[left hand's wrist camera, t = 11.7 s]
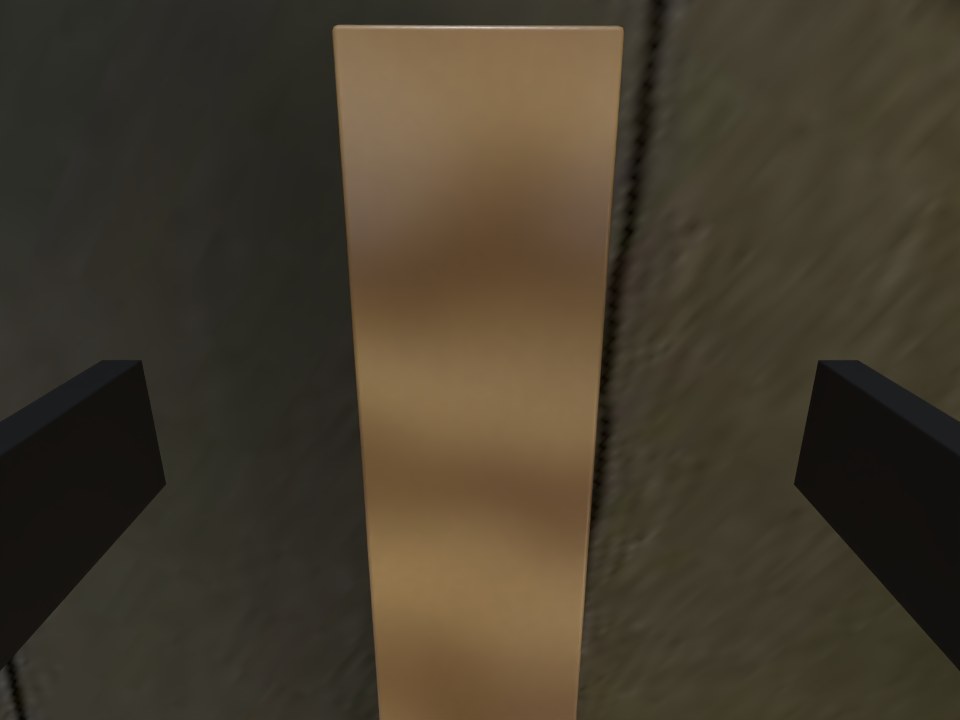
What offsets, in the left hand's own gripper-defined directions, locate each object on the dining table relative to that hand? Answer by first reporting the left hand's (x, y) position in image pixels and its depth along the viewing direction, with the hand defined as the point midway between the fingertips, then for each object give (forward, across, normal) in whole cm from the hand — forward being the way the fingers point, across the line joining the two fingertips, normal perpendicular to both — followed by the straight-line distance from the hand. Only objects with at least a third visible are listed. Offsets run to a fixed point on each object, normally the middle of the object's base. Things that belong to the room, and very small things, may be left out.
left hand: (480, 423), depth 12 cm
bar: (+8, 0, -18) cm, 20 cm away
